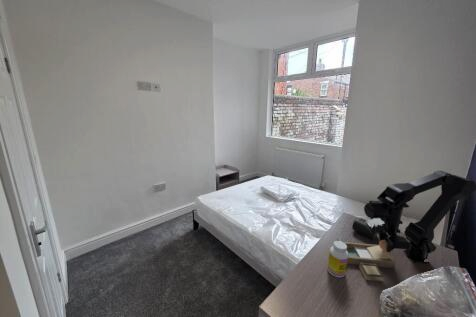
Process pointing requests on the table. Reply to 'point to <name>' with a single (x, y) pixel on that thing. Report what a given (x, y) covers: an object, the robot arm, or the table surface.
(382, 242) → the ball
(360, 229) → the end cap
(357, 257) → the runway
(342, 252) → the supplement bottle
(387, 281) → the table surface
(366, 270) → the grey framed beige square
